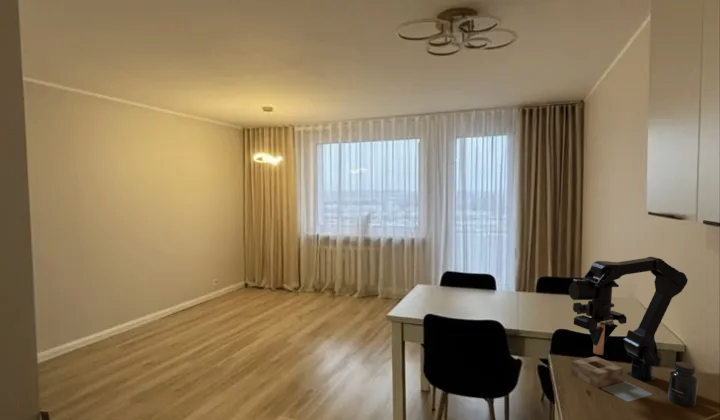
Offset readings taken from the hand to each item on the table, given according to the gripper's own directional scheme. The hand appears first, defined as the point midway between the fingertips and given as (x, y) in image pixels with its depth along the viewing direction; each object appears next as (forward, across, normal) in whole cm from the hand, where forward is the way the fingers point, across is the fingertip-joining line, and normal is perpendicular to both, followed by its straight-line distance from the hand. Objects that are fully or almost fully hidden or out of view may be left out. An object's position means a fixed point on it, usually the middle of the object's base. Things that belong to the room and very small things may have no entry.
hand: (598, 344), depth 143 cm
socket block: (+12, 0, 0) cm, 12 cm away
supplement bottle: (+12, -11, +20) cm, 26 cm away
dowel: (+3, 0, 0) cm, 3 cm away
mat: (+12, -1, +10) cm, 16 cm away
